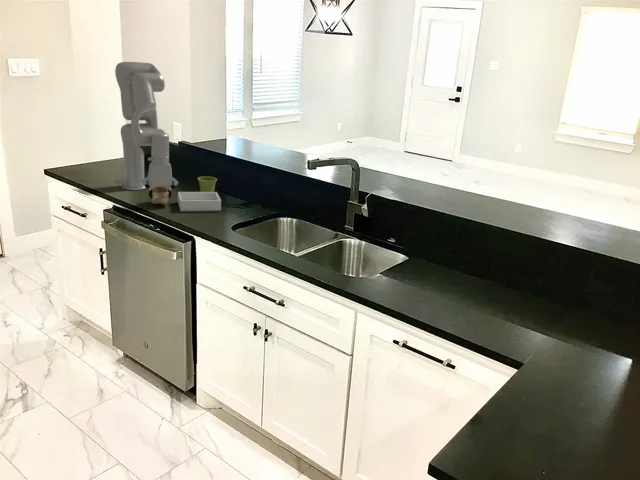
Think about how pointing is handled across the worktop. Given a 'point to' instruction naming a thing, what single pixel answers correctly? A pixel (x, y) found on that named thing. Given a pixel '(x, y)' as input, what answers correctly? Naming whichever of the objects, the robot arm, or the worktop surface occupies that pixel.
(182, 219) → the worktop surface
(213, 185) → the plant pot
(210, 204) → the box
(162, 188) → the small crate
